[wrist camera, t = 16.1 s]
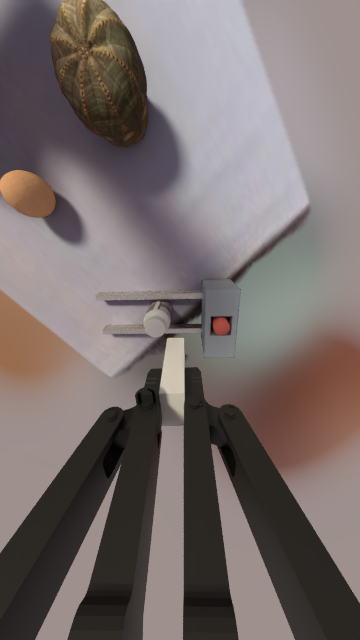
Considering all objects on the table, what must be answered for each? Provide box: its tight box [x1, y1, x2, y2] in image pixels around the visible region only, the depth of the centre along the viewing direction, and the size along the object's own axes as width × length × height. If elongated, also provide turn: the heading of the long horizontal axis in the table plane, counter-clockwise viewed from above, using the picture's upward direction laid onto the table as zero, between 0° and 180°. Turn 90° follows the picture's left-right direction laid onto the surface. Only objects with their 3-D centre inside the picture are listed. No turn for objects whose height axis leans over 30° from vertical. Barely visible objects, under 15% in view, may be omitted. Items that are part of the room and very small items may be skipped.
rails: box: [96, 290, 203, 334], centre depth 44 cm, size 23×9×2 cm, turn 92°
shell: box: [50, 0, 148, 147], centre depth 27 cm, size 11×11×12 cm
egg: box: [0, 170, 56, 218], centre depth 33 cm, size 7×7×9 cm
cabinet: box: [201, 279, 241, 358], centre depth 41 cm, size 6×14×9 cm, turn 1°
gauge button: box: [211, 316, 230, 335], centre depth 39 cm, size 3×3×6 cm
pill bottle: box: [144, 300, 172, 338], centre depth 41 cm, size 5×5×10 cm
